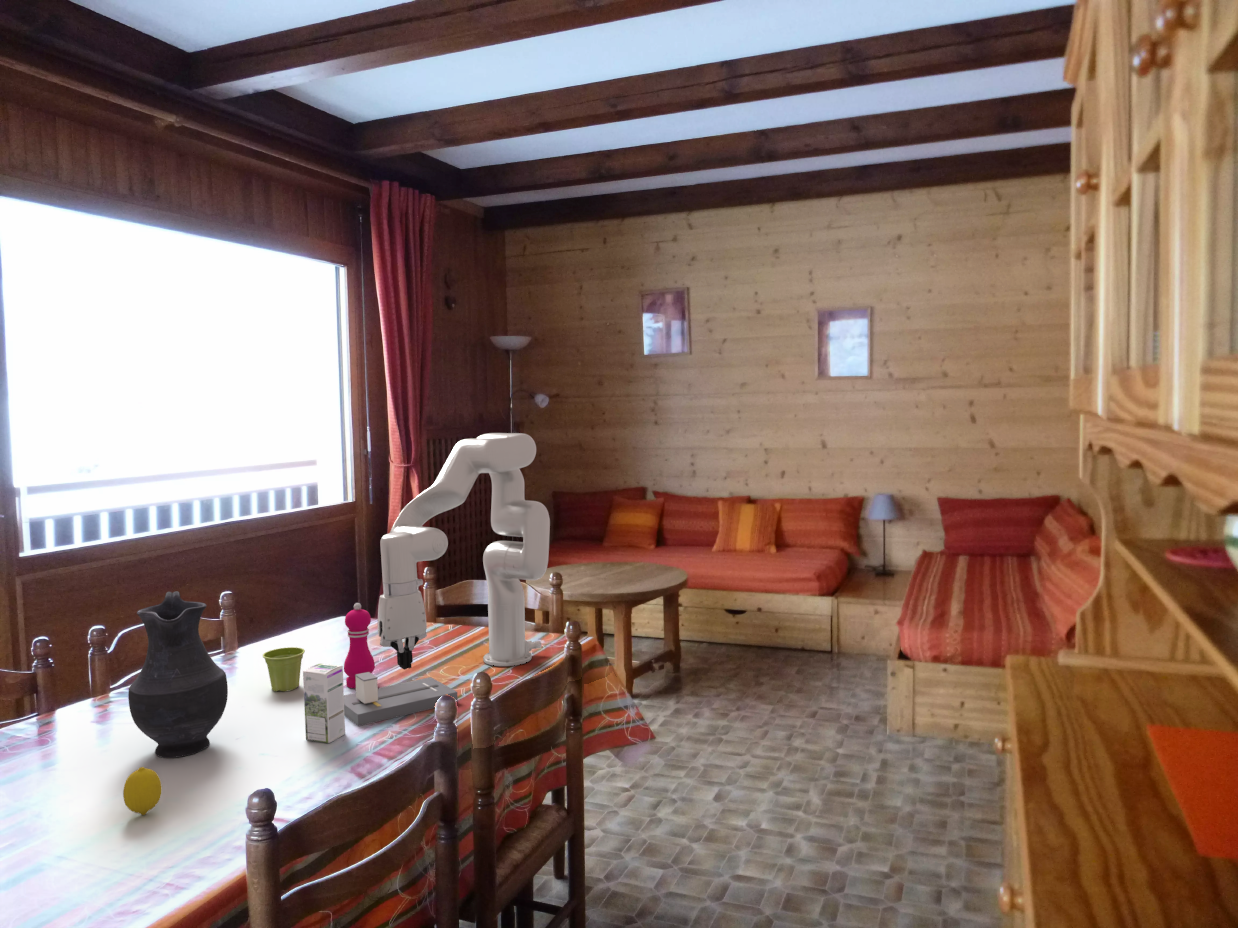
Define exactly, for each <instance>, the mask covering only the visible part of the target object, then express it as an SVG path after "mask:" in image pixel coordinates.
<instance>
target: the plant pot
mask: <svg viewBox="0 0 1238 928" xmlns="http://www.w3.org/2000/svg"><path fill="white" fill-rule="evenodd" d="M305 651H306V650H305V649H304V648H301V647H297V646H296V647H293V646H291V647H288V646H287V647H280V648H275V649H271V650H268V651H266V652H264V653H263V654H262V658H263V659H264V660H265V664H266V665H267V670H268V676H269V681H270V686H271V690H272V691H273V692H279V691H281V692H288V691H293V690H296V689H297V687H300V678H301V670H302V668H301V667H302V659H303V658H304V654H305Z"/></svg>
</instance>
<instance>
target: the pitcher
mask: <svg viewBox="0 0 1238 928" xmlns="http://www.w3.org/2000/svg"><path fill="white" fill-rule="evenodd" d="M206 608H207V604H206V603H204V602H200V601H187V600H183V598H181V594H180V592H179V591H173V592H172V591H167V592H166V593H165V596H164V599H163V601H162V602H161V603H159V604H155V605H151V606H148V607H144V608H141V609H138V610H137V612H136V615H137V616H138V617H139V618H140V620H141V622H142V623H143V626H144V628H145V631H146V635H147V643H148V644H147V652H146V655H145V660H144V663H143V666H142V668H141V670H140V672H139V674H138V676H137V677H136V678H135V679H134V681H133V682H131V684H130V685H129V688H128V699H127V700H128V706H129V711H130V715H131V717H132V720H133V723H134V724H135V726H136V727H137V728H138V729H139V730H140V731H141V732H142V734H144V735H145V736H147V737H148V738H150V739H151V740H153V741H154V742H155V743H157V745H156V747H155V750H154V754H155V755H156V756H157V757H159V758H164V759H165V758H166V759H167V758H168V759H169V758H170V759H171V758H173V759H174V758H175V759H176V758H181V757H182V758H183V757H185V756H186V757H187V756H190V755H193V754H197V753H199V752H202V751H203V750H205V749H206V748H208V747H209V745H210V744H211V743H210V742H211V741H210V739H209V737H208V734H209V733H211V732H212V730H213V729H214V728H215V726H216V725H217V724H218V723H219V722H220V720H221V719H222V717H223V714H224V712H225V709H226V706H227V702H228V694H229V691H228V690H229V689H228V687H229V686H228V680H227V674H226V673H227V672H225V670H224V669H223V668H221V667H219V666H218V664H217V663H216V662H215V661H214V660H213V658H212V657H211V656H210V654H209V652H208V651H207V649H206V647H205V645H204V642H203V641H202V638H201V636H200V632H199V629H200V628H199V627H200V621H201V619H202V615H203V612H204V611H205V609H206Z"/></svg>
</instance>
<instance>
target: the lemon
mask: <svg viewBox="0 0 1238 928" xmlns="http://www.w3.org/2000/svg"><path fill="white" fill-rule="evenodd" d="M162 787H163V785H162V782H161V778H160V776H159V774H158V773H157V772H156V771H155V770H153V769H151V768H147V767H144V766H140V767H139V768H138V769H136V770H135V771H133V772H131V773H130V774H129V775H128V777H127V778H126V780H125V782H124V786H123V791H122V793H123V802H124V803H125V806H126V807H127V809H129V810H130V811H131V812H133V813H137V814H139V815H141V816H145V815H147V813H148V812H149V811H151V810H152V809H154V808H155V807H156V806H157V804H158V803H159V802H160V799H161V796H162V791H163V789H162Z"/></svg>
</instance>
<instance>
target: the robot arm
mask: <svg viewBox="0 0 1238 928" xmlns="http://www.w3.org/2000/svg"><path fill="white" fill-rule="evenodd" d="M536 454H537V445H536V442H535V440H534V439H533V438H532V436H531V435H529V434H527V433H524V432H523V433H521V432H520V433H519V432H515V433H514V432H508V433H507V432H489V433H483V434H480V435H479V436H477V437H476V438H473V437H472V438H470V437H469V438H464V439H461V440H459V441H457V443H455V445H454V446H453V448H452V450H451V452H450V453H449V455H448V457H447V458H446V460H445V463H444V464H443V465H442V468H441V469H440V471H439V473H438V475H437V476H436V478H435V481H434V482H433V484H432V485H430V486H429V487H428V488H427V489H424V490H423V491H422V492H421V493H419V494H418V495H417V496H415V498H413V499H412V500H411V501H409V503H407V504H406V505H405V506H404V507H403V508H402V509H401V511H400V513H399V514H398V516H397V518H396V520H395V521H394V523H393V525H392V527H391V529H390V531H389V533H386V534H384V535H382V537H380V538H381V539H380V542H379V543H380V555H381V556H380V558H381V559H380V560H381V573H382V574H381V576H382V590H383V591H382V592H383V593H382V594H380V596H379V599H378V609H377V634H378V637H379V638H380V639H379V640H380V641H379V645H380V646H381V647H382V648H383V647H384V648H386V647H387V648H393V649H394V650H395V651H396V657H397V658H396V661H397V666H399V667H400V668H401V669H403V670H407V669H412V664H413V661H414V660H413V651H414V649H415V646H416V644H417V643H418V642H419V641H421V640H424V639H426V638H427V635H428V634H427V627H428V626H427V616H426V614H427V613H426V609H425V603H424V599H423V596H422V592H421V591H420V589H419V587H420V586H423V584H424V580H423V579H422V578H420V579H419V578H418V572H417V571H418V568H417V563H418V562H423V561H424V562H425V561H435V560H438V559H439V558H440V557H443V555H445V553H446V552H447V549H448V545H449V540H448V537H447V534H445V532H444V531H442V530H441V529H439V528H436V527H430V526H423V525H424V524H425V523H426V522H428V521H429V520H430V519H432V518H433V517H435V516H437V515H439V514H442V513H444V512H448V511H450V510H452V509H455V508H457V507H459V506H460V505H462V504H463V503H465V501H466V500H467V497H468V496H469V494H470V492H471V490H472V488H473V486H474V485H475V482H476V480H477V478H478V477H479V475H480V474H489V476H490V480H491V509H490V526H491V529H492V530H493V532H494V533H495V534H497V535H501V536H505V537H506V536H507V537H518V538H520V537H521V538H522V539H523V541H515V540H514V541H513V540H497V541H492V543H489V545H487V546H486V548H484V549H485V550H484V552H483V556H482V562H483V570H484V573H485V579H486V584H487V586H486V587H487V611H488V612H487V613H488V616H487V619H488V620H487V621H488V652H487V653H485V654H484V656H483V658H482V659H483V662H484V663H485V664H486V665H489V666H493V665H494V666H493V667H513V666H514V665H515V666H521V665H523V664H527V663H528V662H530V661H531V660H532V653H531V651H532V650H536V649H537V650H538V649H541V648H542V642H541V640H535V641H532V640H526V619H525V618H526V615H525V613H526V611H525V591H524V587H523V584H522V582H521V581H520V580H525V581H537V580H540V579H541V578H543V577H544V575H545V574H546V571H547V569H548V564H549V551H550V528H551V527H550V526H551V519H550V515H549V514H550V513H549V511H548V509H547V507H546V506H545V505H544V504H543V503H542V502H540V501H536V500H528V499H527V500H526V499H525V479H524V475H523V473H522V471H521V469H522V468H525V467H528V466H529V465H531V464H532V463H533V461H534V460H535V457H536ZM403 640H404V641H403ZM526 662H527V663H526ZM520 664H521V665H520ZM515 666H514V667H515Z"/></svg>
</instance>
